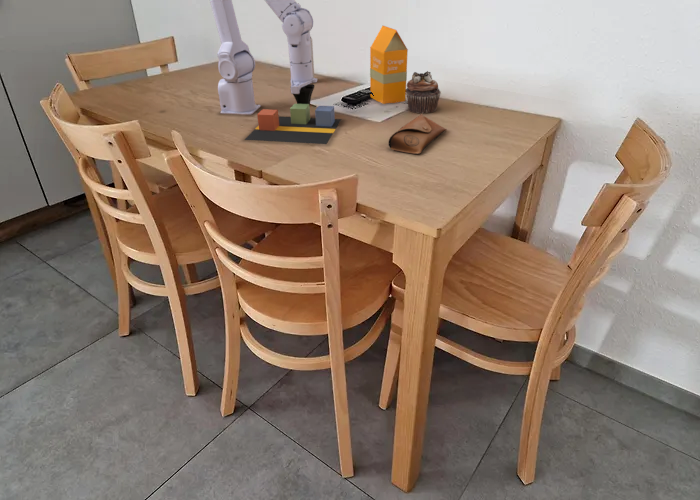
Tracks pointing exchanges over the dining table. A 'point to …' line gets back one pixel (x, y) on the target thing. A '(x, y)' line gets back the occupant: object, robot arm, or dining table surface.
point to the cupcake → (422, 93)
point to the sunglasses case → (415, 135)
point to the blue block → (325, 116)
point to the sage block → (300, 113)
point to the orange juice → (388, 67)
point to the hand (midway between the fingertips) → (304, 112)
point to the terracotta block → (268, 119)
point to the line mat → (296, 132)
